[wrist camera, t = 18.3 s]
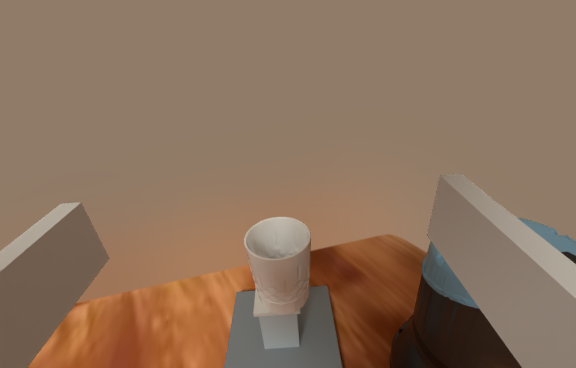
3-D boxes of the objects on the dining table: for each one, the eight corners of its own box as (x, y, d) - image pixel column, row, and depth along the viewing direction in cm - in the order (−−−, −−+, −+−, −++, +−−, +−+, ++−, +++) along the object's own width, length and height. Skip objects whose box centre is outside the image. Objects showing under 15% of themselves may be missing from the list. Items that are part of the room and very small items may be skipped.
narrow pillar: (327, 291, 50) (326, 248, 45) (345, 393, 36) (347, 346, 31) (238, 297, 50) (228, 255, 45) (221, 401, 36) (204, 356, 31)
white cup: (273, 265, 43) (265, 211, 38) (321, 281, 39) (320, 224, 35) (243, 306, 37) (230, 248, 32) (298, 329, 33) (292, 268, 28)
